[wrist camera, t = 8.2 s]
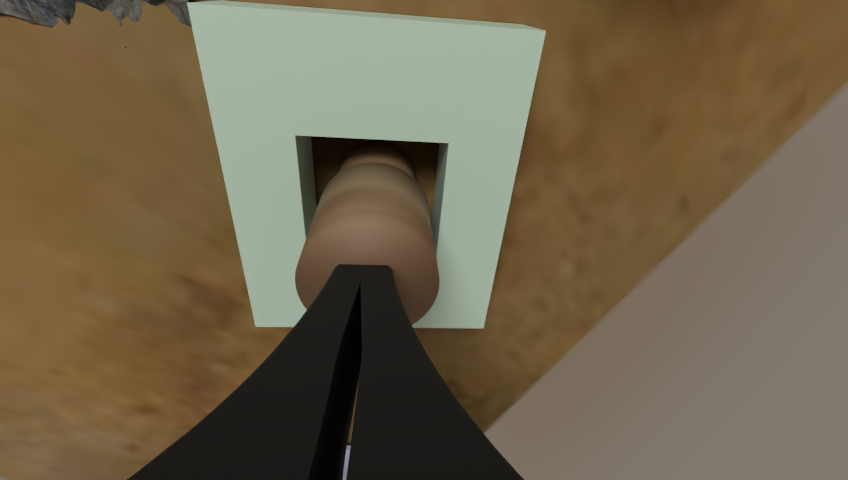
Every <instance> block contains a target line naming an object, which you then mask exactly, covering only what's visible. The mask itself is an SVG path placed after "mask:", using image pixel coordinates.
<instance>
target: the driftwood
mask: <svg viewBox="0 0 848 480" xmlns="http://www.w3.org/2000/svg"><path fill="white" fill-rule="evenodd" d="M76 1H78V2H82V3H85V4H87V5H89V6H92V7H94V8H97V9H98V10H100V11H104V10H105V9H107V10H111V11H113V14H114V16H115V17H116V19H117V21H118V24H119V25H120V26H122V23H121V19H123V18H124V17H125V16H128V17H129V18H130V19H131V20H132V21H133V22H134V21H139V19H140V16H141V14H142V0H0V13H4V14H8V15H12V16H16V17H19V18H21V19H24V20H26V21H28V22H30V23H37V24H41V25H45V26H49V27H54V25H56V24H58V20H57V17H59V18H60V19H62V20H63V21H64V22H65V23H66V24H67V25H69V24H70V18H73V16H74V13H75V2H76ZM145 1H146V2H147V3H149V4H153V5H159V4H160V3H161V2H162V1H164V3H165V4H166V5H167V7H168V8H169V9H170V11H171V12H172V13H173V14H174V15H175V16H176V18H177V19H178V20H179V21H180V22H181V23H183V24H186V25H188V26H191V27H192V25H191V20H190V15H189V10H188V6H187V3H188V0H145ZM125 48H126V47H125Z"/></svg>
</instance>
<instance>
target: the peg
mask: <svg viewBox="0 0 848 480" xmlns="http://www.w3.org/2000/svg"><path fill="white" fill-rule="evenodd" d="M339 264H353V265H388V266H389V267H391V268H392V271H393V277H394V281H395V285H396V288H397V291H398V294H399V297H400V300H401V302H402V305H403V307H404V310H405V312H406V314H407V316H408V318H409V320H410V323H411V325H413V324H414V323H416V322H418V321H419V320H420V319H421V318H422V317H424V315H425V314H426V313H427V312H428V311H429V310H430V308H431V307H432V305H433V304H434V302H435V300H436V298H437V294H438V291H439V284H440V283H439V271H438V265H437V259H436V253H435V246H434V240H433V234H432V228H431V221H430V215H429V209H428V203H427V199H426V196H425V194H424V192H423V190H422V188H421V187H420V185H419V184H418V183H417V182H416V174H415V169H414V166H413V164H412V162H411V160H410V159H409V157H408V156H407V155H406V154H405V153H404V152H403V151H402V150H401V149H399V148H398V147H396V146H394V145H392V144H389V143H385V142H378V141H374V142H366V143H363V144H360V145H358V146H356V147H354V148H353V149H351V150H350V151H349V152H348V153H347V154H346V155H345V157H344V158H343V160H342V162H341V164H340V167H339V170H338V173H337V174H336V175H335V176H334V177H333V178H332V179H331V180H330V181H329V182H328V184H327V185H326V187H325V188H324V190H323V193H322V195H321V198H320V201H319V204H318V206H317V209H316V212H315V215H314V218H313V221H312V224H311V226H310V229H309V232H308V235H307V238H306V241H305V244H304V247H303V249H302V252H301V255H300V258H299V261H298V264H297V267H296V271H295V285H296V290H297V294H298V296H299V298H300V300H301V302H302V304H303V305H304V307H305V308H306V309H308V308H309V307H310V305H311V304H312V303H313V301H314V300H315V298H316V297H317V295H318V294H319V293H320V291H321V290H322V288H323V287H324V285H325V283H326V282H327V280H328V279H329V277H330V275H331V274H332V272H333V270H334V268H335V267H336V266H337V265H339Z"/></svg>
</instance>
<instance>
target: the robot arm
mask: <svg viewBox="0 0 848 480" xmlns="http://www.w3.org/2000/svg"><path fill="white" fill-rule="evenodd" d="M359 374H360V376H359ZM358 380H359V384H358ZM357 386H358V393H357V401H356V409H355V417H354V425H353V433H352V440H351V445H347V442H348V436H349V431H350V425H351V420H352V414H353V408H354V403H355V397H356V391H357ZM127 480H524V479H523V478H522V477H521V476H520V475H519V474H518V473H517V472H516V471H515V470H514V468H513V467H512V466H511V465H510V464H509V463H508V462H507V461H506V459H505V458H503V456H502V455H501V454H500V453H499V452H498V451H497V449H496V448H495V447H494V446H493V445H492V444H491V443H490V441H489V440H488V439H487V438H486V436H485V435H484V434H483V432H482V431H481V430H480V429H479V427H478V426H477V425H476V424H475V422H474V421H473V420H472V419H471V418H470V416H469V415H468V414H467V413H466V411H465V410H464V409H463V408H462V406H461V405H460V403H459V402H458V401H457V399H456V398H455V396H454V395H453V394H452V392H451V391H450V389H449V388H448V387H447V385H446V384H445V382H444V381H443V379H442V378H441V376H440V374H439V373H438V371H437V370H436V368H435V367H434V365H433V363H432V362H431V360H430V358H429V357H428V355H427V353H426V352H425V350H424V348H423V346H422V344H421V342H420V341H419V339H418V337H417V335H416V333H415V331H414V329H413V327H412V325H411V323H410V320H409V318H408V316H407V314H406V312H405V310H404V307H403V305H402V302H401V300H400V297H399V294H398V291H397V288H396V285H395V281H394V277H393V271H392V268H391V267H389V266H388V265H353V264H339V265H337V266H336V267H335V268H334V270H333V272H332V274H331V275H330V277H329V279H328V280H327V282H326V283H325V285H324V287H323V288H322V290H321V291H320V293H319V294H318V295H317V297H316V298H315V300H314V301H313V303H312V304H311V305H310V307H309V308H308V309H307V311H306V312H305V313H304V315H303V316H302V317H301V319H300V320H299V321H298V323H297V324H296V325H295V326H294V327H293V329H292V330H291V331H290V332H289V333H288V335H287V336H286V337H285V338H284V339H283V340H282V342H281V343H280V344H279V345H278V346H277V348H276V349H275V350H274V351H273V352H272V353H271V354H270V355H269V356H268V358H267V359H266V360H265V361H264V362H263V363H262V364H261V365H260V366H259V367H258V368H257V369H256V370H255V371H254V372H253V373H252V374H251V375H250V376H249V377H248V378H247V379H246V380H245V381H244V382H243V383H242V384H241V385H240V386H239V387H238V388H237V389H236V390H235V391H234V392H233V393H232V394H230V395H229V396H228V397H227V398H226V399H225V400H224V401H223V402H222V403H221V404H220V405H218V406H217V407H216V408H215V409H214V410H213V411H212V412H211V413H210V414H208V415H207V416H206V417H205V418H204V419H203V420H202V421H200V422H199V423H198V424H197V425H196V426H195V427H193V428H192V429H191V430H190V431H188V432H187V433H186V434H185V435H183V436H182V437H181V438H180V439H178V440H177V441H176V442H175V443H173V444H172V445H171V446H170V447H168V448H167V449H166V450H165V451H163V452H162V453H161V454H160V455H158V456H157V457H156V458H154V459H153V460H152V461H151V462H149V463H148V464H147V465H146V466H144V467H143V468H142V469H141V470H139V471H138V472H137V473H135V474H134V475H133V476H131V477H130V478H129V479H127Z"/></svg>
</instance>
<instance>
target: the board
mask: <svg viewBox="0 0 848 480" xmlns="http://www.w3.org/2000/svg"><path fill="white" fill-rule="evenodd" d="M187 6H188V10H189V15H190V20H191V25H192V29H193V34H194V39H195V43H196V48H197V53H198V58H199V62H200V67H201V72H202V76H203V81H204V86H205V91H206V95H207V100H208V105H209V109H210V114H211V119H212V124H213V128H214V133H215V138H216V142H217V147H218V152H219V157H220V161H221V166H222V171H223V175H224V180H225V185H226V190H227V194H228V199H229V204H230V208H231V213H232V218H233V223H234V227H235V232H236V237H237V241H238V246H239V251H240V256H241V260H242V265H243V270H244V274H245V279H246V284H247V289H248V293H249V298H250V303H251V307H252V312H253V317H254V322H255V326H256V327H294V326H295V325H296V324H297V323H298V321H299V320H300V319H301V317H302V316H303V315H304V313H305V312H306V311H307V309H306V308H305V307H304V305H303V304H302V302H301V300H300V298H299V296H298V294H297V290H296V285H295V271H296V267H297V264H298V261H299V258H300V255H301V252H302V249H303V247H304V244H305V241H306V238H307V235H308V232H309V229H310V226H311V224H312V221H313V218H314V215H315V212H316V209H317V203H316V191H315V179H314V166H313V154H312V142H311V136H316V137H336V138H356V139H375V140H395V141H415V142H434V143H439V152H438V162H437V173H436V183H435V193H434V204H433V214H432V225H431V228H432V234H433V240H434V246H435V253H436V259H437V265H438V271H439V283H440V284H439V291H438V294H437V298H436V300H435V302H434V304H433V305H432V307H431V308H430V310H429V311H428V312H427V313H426V314H425V315H424V317H422V318H421V319H420V320H419V321H418V322H416V323H414V324H413V325H412V327H413V328H484V324H485V319H486V314H487V309H488V304H489V300H490V295H491V290H492V285H493V281H494V276H495V271H496V266H497V262H498V257H499V252H500V247H501V243H502V238H503V233H504V228H505V224H506V219H507V214H508V209H509V205H510V200H511V195H512V190H513V186H514V181H515V176H516V171H517V167H518V162H519V157H520V152H521V148H522V143H523V138H524V133H525V128H526V124H527V119H528V114H529V109H530V105H531V100H532V95H533V90H534V86H535V81H536V76H537V71H538V67H539V62H540V57H541V52H542V48H543V43H544V38H545V33H546V31H545V30H541V29H537V28H534V27H530V26H526V25H523V24H511V23H498V22H486V21H473V20H461V19H448V18H436V17H423V16H411V15H398V14H386V13H373V12H361V11H348V10H336V9H323V8H311V7H298V6H286V5H273V4H261V3H248V2H236V1H223V0H219V1H203V2H188V3H187Z"/></svg>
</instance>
